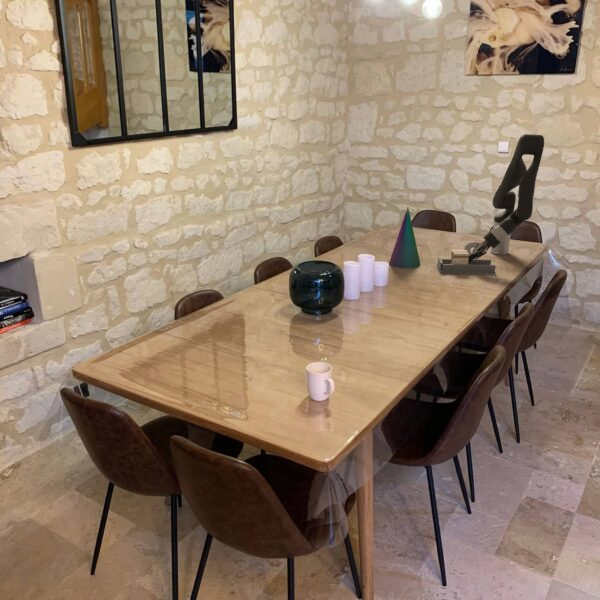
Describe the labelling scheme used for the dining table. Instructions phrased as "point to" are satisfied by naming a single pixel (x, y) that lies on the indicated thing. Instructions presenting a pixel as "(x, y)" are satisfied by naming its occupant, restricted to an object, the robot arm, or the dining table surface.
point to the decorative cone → (405, 246)
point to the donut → (471, 245)
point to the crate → (459, 257)
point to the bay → (466, 267)
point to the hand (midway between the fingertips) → (467, 260)
